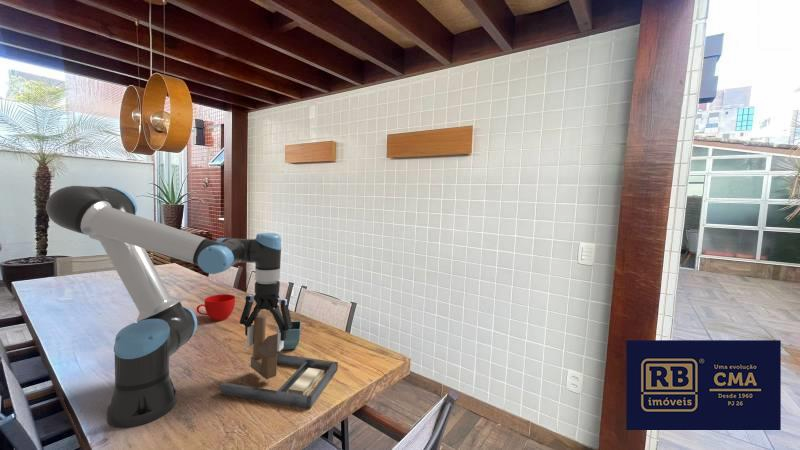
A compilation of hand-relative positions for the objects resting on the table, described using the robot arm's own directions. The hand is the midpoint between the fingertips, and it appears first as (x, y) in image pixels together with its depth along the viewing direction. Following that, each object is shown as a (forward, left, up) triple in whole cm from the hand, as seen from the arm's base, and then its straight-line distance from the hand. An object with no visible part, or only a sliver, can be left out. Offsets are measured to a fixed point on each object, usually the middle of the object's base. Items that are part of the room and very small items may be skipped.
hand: (265, 347), depth 107 cm
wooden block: (0, 0, -9) cm, 9 cm away
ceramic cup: (+40, +51, -11) cm, 66 cm away
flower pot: (+23, +4, -11) cm, 26 cm away
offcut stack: (0, -15, -11) cm, 19 cm away
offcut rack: (0, -7, -11) cm, 13 cm away
